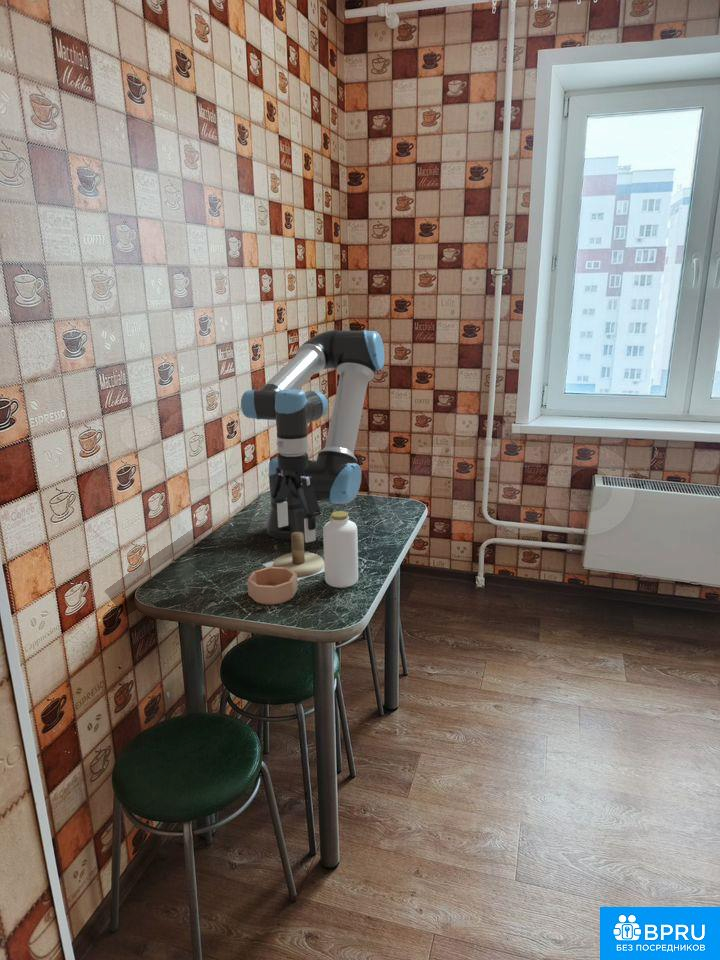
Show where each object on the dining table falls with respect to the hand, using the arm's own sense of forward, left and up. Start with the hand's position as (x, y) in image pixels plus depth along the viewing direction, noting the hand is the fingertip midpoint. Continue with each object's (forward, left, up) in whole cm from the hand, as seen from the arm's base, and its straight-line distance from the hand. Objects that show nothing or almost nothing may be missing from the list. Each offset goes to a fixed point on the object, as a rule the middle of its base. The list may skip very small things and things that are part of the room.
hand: (296, 533), depth 167 cm
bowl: (+10, -13, -10) cm, 19 cm away
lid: (0, 0, -9) cm, 9 cm away
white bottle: (+14, +4, -10) cm, 18 cm away
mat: (0, 0, -10) cm, 10 cm away
